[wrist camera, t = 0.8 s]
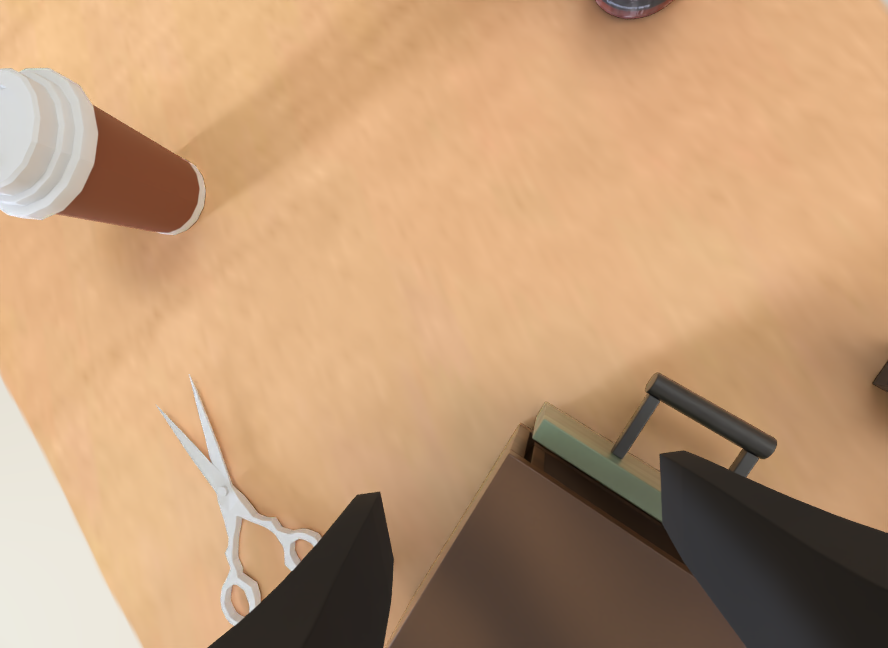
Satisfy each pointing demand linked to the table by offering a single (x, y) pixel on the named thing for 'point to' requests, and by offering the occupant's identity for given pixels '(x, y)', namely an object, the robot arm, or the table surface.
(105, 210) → the coffee cup
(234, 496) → the scissors
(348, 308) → the table surface
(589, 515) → the cabinet
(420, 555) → the table surface
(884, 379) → the black block with tab
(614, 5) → the supplement bottle
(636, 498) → the drawer
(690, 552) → the robot arm
